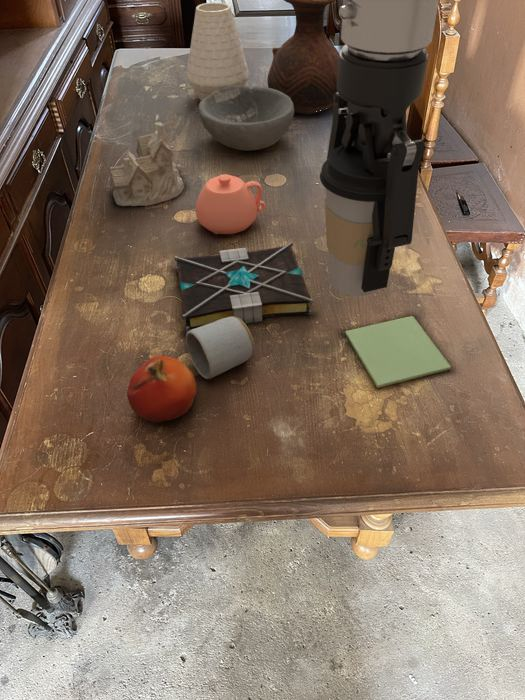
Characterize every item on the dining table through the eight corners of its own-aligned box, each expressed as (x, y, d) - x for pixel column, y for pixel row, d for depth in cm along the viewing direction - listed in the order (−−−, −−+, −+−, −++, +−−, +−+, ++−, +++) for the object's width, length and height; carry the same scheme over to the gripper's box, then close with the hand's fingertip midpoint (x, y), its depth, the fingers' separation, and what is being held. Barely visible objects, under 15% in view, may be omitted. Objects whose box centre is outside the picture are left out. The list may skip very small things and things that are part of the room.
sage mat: (450, 369, 81) (451, 366, 81) (377, 388, 79) (377, 385, 78) (412, 318, 89) (412, 315, 89) (344, 333, 87) (345, 331, 86)
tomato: (201, 382, 80) (196, 344, 74) (195, 433, 74) (188, 396, 68) (139, 381, 80) (129, 343, 75) (127, 432, 74) (115, 395, 68)
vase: (192, 114, 148) (182, 18, 131) (186, 91, 159) (176, 0, 143) (255, 108, 150) (253, 13, 133) (244, 85, 162) (240, -4, 145)
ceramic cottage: (178, 164, 127) (166, 100, 116) (187, 202, 116) (174, 136, 105) (112, 176, 126) (93, 112, 114) (115, 216, 115) (94, 150, 104)
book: (291, 257, 101) (292, 234, 98) (314, 316, 90) (315, 293, 86) (176, 271, 99) (172, 248, 95) (183, 334, 87) (179, 311, 84)
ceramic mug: (258, 365, 82) (257, 328, 77) (212, 389, 79) (207, 352, 73) (221, 327, 88) (217, 290, 83) (177, 348, 85) (170, 311, 80)
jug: (339, 89, 159) (349, -34, 137) (351, 120, 144) (365, -13, 122) (265, 92, 158) (264, -32, 137) (269, 123, 143) (269, -10, 122)
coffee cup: (365, 318, 59) (384, 192, 48) (297, 283, 63) (301, 162, 53) (410, 277, 64) (436, 154, 53) (344, 247, 68) (356, 129, 58)
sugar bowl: (193, 211, 113) (188, 165, 106) (259, 203, 115) (258, 157, 108) (201, 244, 105) (196, 196, 97) (271, 235, 107) (271, 187, 99)
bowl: (192, 162, 128) (188, 119, 121) (210, 122, 144) (207, 82, 137) (289, 166, 126) (290, 123, 119) (296, 125, 142) (297, 85, 135)
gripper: (298, 19, 52) (293, 224, 68) (405, 96, 38) (367, 331, 54) (369, 10, 53) (348, 213, 70) (497, 81, 39) (433, 314, 56)
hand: (356, 265), depth 62 cm, fingers closed on coffee cup, 8 cm apart
